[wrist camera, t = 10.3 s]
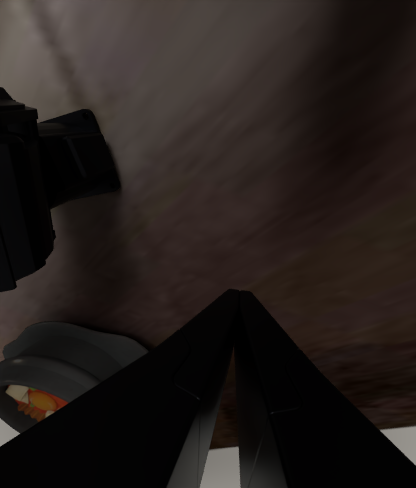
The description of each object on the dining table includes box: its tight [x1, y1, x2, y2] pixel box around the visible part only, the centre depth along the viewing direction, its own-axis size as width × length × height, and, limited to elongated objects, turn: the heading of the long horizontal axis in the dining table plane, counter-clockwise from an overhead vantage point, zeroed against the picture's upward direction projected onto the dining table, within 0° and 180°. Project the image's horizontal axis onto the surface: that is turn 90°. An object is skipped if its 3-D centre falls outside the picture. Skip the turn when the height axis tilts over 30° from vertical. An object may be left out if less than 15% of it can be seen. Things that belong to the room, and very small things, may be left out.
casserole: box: [0, 321, 149, 434], centre depth 32 cm, size 25×19×8 cm
